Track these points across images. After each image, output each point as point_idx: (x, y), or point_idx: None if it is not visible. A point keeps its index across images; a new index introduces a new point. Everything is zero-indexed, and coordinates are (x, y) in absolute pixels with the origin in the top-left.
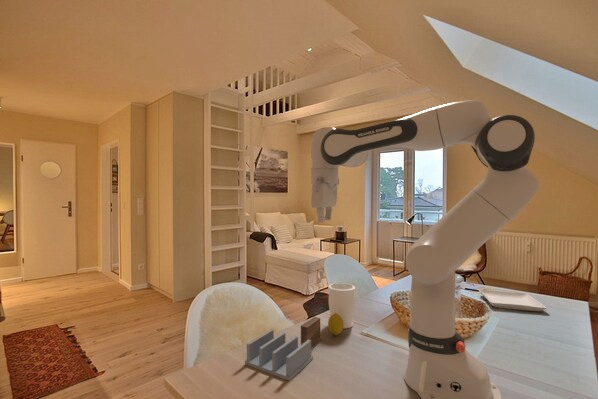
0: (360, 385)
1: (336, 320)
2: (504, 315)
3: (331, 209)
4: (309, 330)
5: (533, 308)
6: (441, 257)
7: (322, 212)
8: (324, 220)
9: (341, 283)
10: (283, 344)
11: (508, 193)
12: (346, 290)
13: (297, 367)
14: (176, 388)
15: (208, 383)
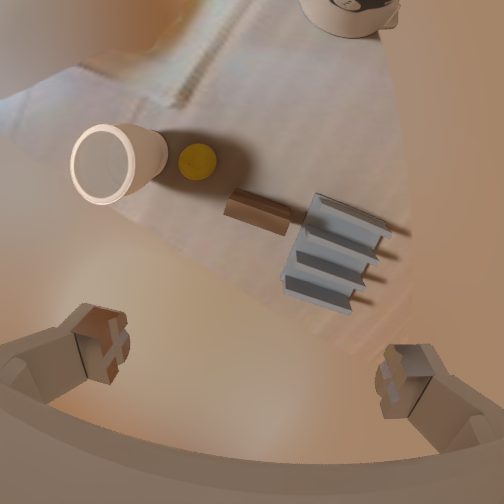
0: (378, 107)
1: (208, 159)
2: None
3: (17, 361)
4: (280, 214)
5: None
6: None
7: (487, 406)
8: (396, 347)
9: (71, 172)
10: (347, 254)
11: None
12: (129, 144)
13: (362, 215)
14: None
15: (392, 325)
